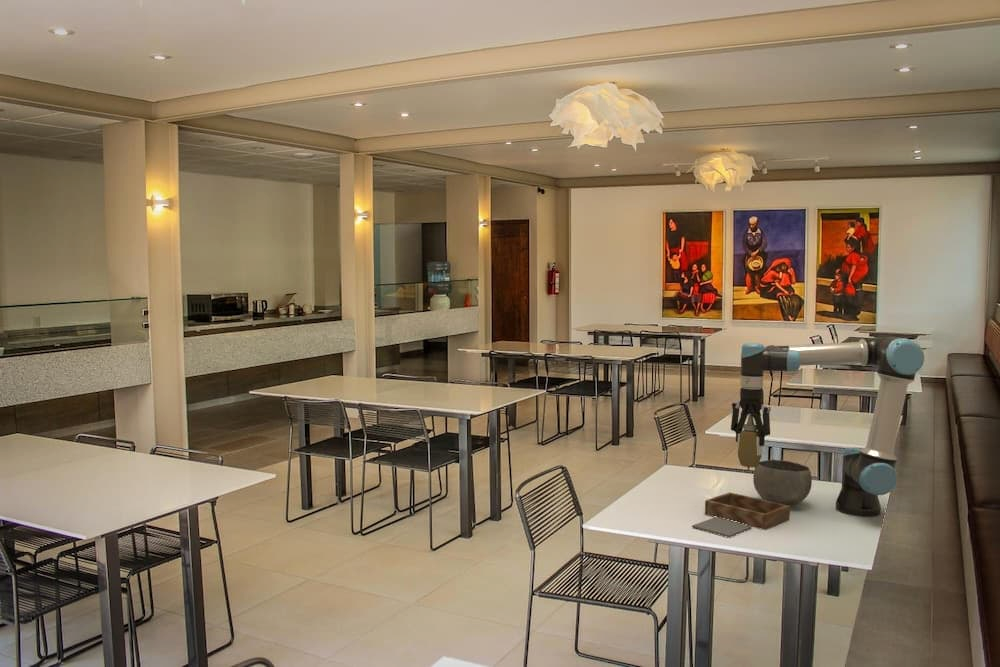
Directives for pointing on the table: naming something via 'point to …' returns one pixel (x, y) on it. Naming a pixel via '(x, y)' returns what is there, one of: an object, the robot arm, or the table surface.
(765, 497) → the bowl
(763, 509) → the tray
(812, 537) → the table surface
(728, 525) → the charcoal mat
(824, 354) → the robot arm
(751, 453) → the squeeze bottle
